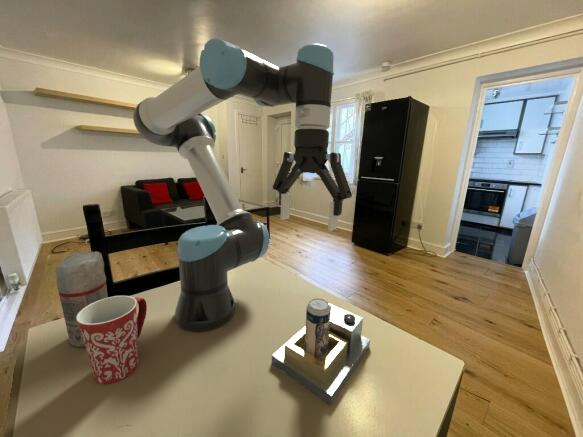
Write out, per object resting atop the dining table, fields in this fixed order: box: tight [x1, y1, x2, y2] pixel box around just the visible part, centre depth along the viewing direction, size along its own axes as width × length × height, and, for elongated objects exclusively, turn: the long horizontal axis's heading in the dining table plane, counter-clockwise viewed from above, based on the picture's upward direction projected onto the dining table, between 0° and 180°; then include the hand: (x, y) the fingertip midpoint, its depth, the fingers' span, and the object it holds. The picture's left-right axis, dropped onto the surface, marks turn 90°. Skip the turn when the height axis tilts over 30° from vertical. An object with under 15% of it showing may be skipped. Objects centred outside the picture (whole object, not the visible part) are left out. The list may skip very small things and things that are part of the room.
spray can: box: [54, 251, 109, 348], centre depth 55 cm, size 8×8×20 cm
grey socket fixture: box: [271, 302, 371, 406], centre depth 53 cm, size 14×18×8 cm
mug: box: [76, 295, 148, 385], centre depth 49 cm, size 13×9×14 cm
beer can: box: [304, 297, 331, 361], centre depth 50 cm, size 5×5×12 cm
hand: (307, 223), depth 58 cm, fingers open, 13 cm apart
